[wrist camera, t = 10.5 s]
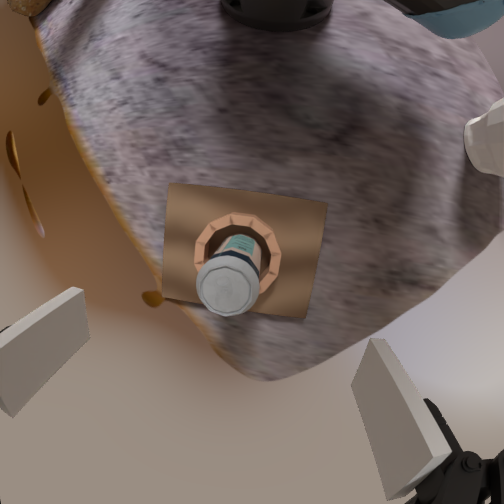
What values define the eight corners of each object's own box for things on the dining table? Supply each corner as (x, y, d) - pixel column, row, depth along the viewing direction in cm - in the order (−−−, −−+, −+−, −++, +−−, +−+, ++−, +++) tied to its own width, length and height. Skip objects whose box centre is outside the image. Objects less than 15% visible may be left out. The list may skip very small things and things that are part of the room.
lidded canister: (226, 277, 32) (205, 327, 20) (214, 238, 31) (183, 268, 19) (267, 267, 31) (266, 313, 19) (255, 226, 30) (248, 251, 18)
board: (172, 182, 31) (169, 182, 29) (325, 202, 30) (327, 203, 29) (165, 293, 34) (162, 296, 33) (304, 314, 33) (305, 318, 32)
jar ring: (204, 208, 30) (198, 210, 27) (284, 219, 30) (286, 221, 27) (197, 284, 32) (191, 291, 30) (272, 295, 32) (272, 304, 29)
